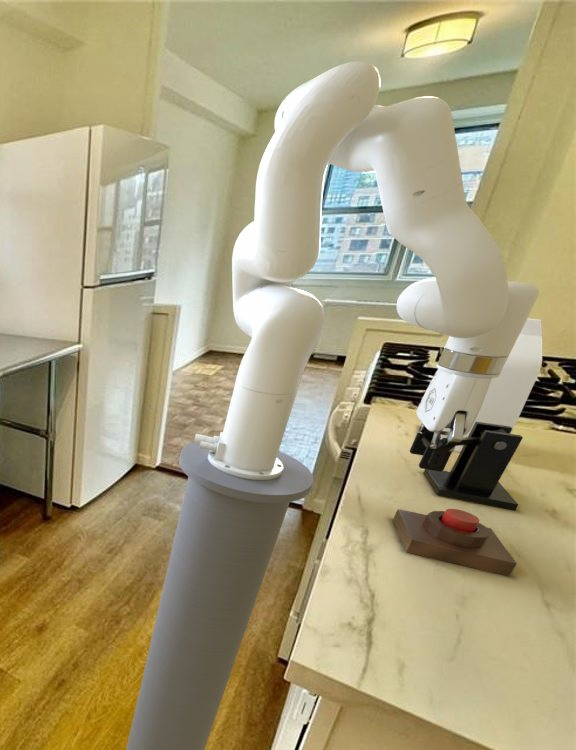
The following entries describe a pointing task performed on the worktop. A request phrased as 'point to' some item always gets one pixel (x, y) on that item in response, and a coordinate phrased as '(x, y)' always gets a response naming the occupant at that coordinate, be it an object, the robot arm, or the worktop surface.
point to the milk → (512, 381)
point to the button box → (452, 542)
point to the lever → (465, 441)
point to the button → (460, 520)
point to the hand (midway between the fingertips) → (425, 460)
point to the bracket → (479, 469)
